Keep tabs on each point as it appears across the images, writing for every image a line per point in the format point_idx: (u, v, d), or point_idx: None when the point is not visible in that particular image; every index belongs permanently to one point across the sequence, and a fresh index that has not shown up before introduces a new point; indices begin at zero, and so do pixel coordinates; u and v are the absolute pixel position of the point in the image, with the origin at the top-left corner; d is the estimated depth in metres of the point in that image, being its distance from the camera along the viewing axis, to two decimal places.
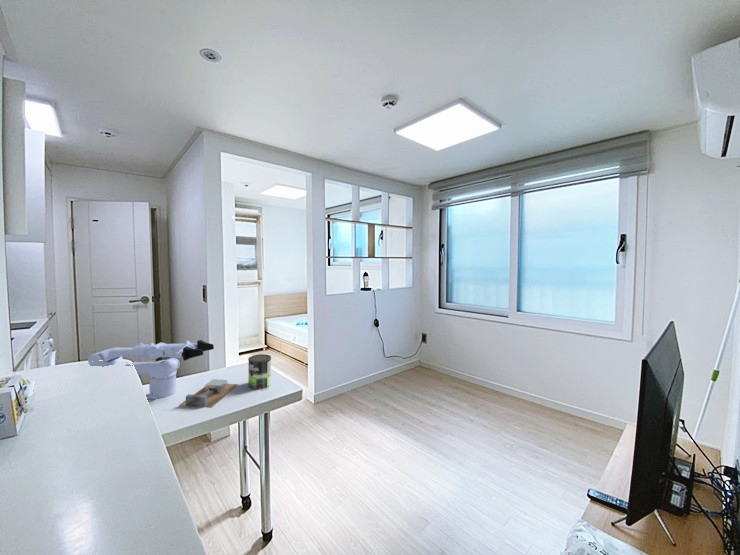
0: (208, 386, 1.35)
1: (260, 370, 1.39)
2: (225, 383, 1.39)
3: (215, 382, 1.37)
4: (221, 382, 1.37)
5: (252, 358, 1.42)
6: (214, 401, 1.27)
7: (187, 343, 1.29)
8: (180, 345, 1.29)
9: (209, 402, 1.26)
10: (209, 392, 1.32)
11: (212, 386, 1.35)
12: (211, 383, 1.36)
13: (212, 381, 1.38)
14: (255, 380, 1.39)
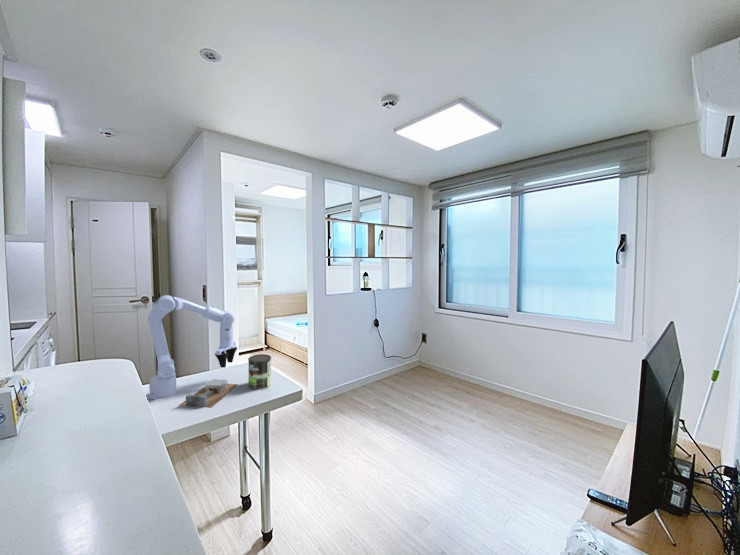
0: (208, 386, 1.35)
1: (260, 370, 1.39)
2: (225, 383, 1.39)
3: (215, 382, 1.37)
4: (221, 382, 1.37)
5: (252, 358, 1.42)
6: (214, 401, 1.27)
7: (231, 348, 1.44)
8: (229, 342, 1.43)
9: (209, 402, 1.26)
10: (209, 392, 1.32)
11: (212, 386, 1.35)
12: (211, 383, 1.36)
13: (212, 381, 1.38)
14: (255, 380, 1.39)
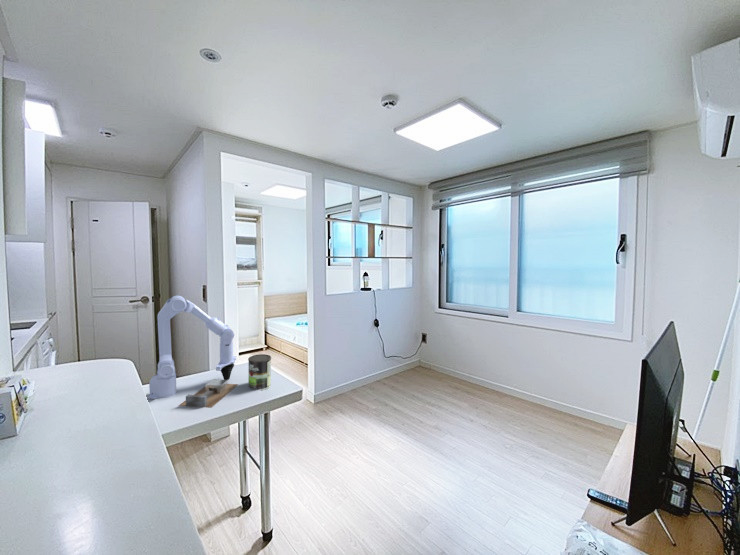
0: (208, 386, 1.35)
1: (260, 370, 1.39)
2: (225, 383, 1.39)
3: (215, 382, 1.37)
4: (221, 382, 1.37)
5: (252, 358, 1.42)
6: (214, 401, 1.27)
7: None
8: (230, 358, 1.44)
9: (209, 402, 1.26)
10: (209, 392, 1.32)
11: (212, 386, 1.35)
12: (211, 383, 1.36)
13: (212, 381, 1.38)
14: (255, 380, 1.39)
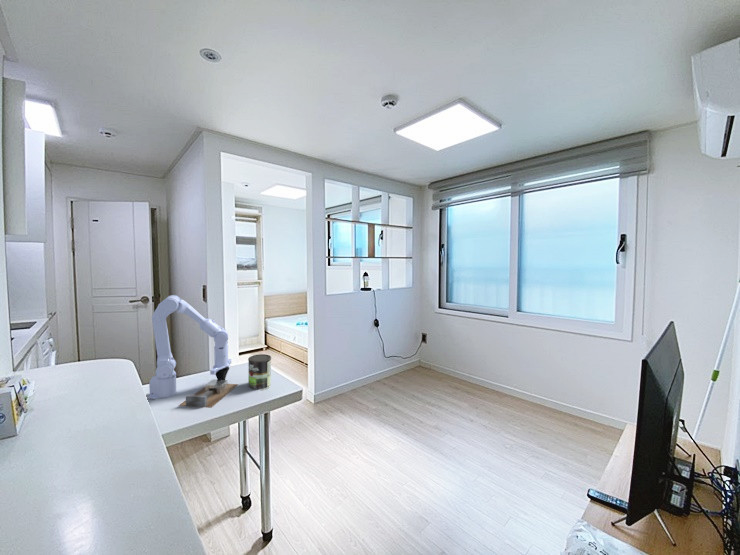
0: (208, 386, 1.34)
1: (260, 370, 1.39)
2: (225, 383, 1.38)
3: (215, 382, 1.37)
4: (221, 382, 1.37)
5: (252, 358, 1.42)
6: (214, 401, 1.27)
7: (227, 366, 1.40)
8: (224, 361, 1.39)
9: (209, 402, 1.26)
10: (209, 392, 1.32)
11: (212, 386, 1.34)
12: (211, 383, 1.36)
13: (212, 381, 1.38)
14: (255, 380, 1.39)
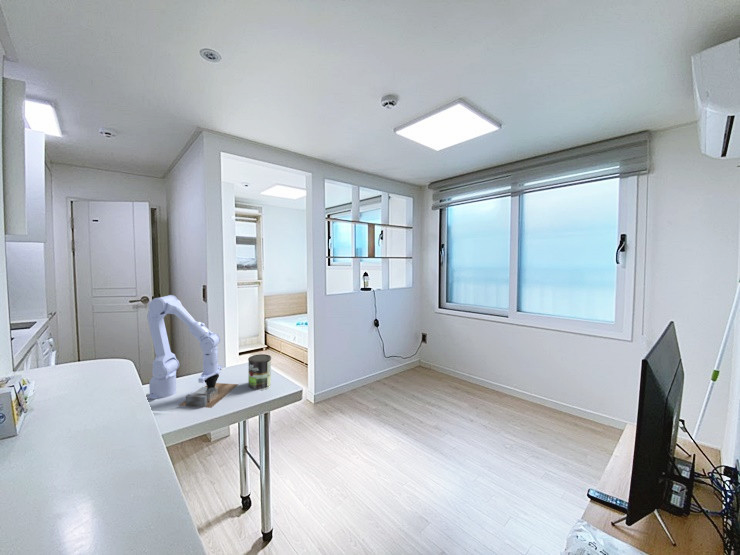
0: (197, 394, 1.27)
1: (260, 370, 1.39)
2: (215, 391, 1.30)
3: (204, 390, 1.29)
4: (211, 390, 1.29)
5: (252, 358, 1.42)
6: (214, 401, 1.27)
7: (216, 373, 1.32)
8: (214, 368, 1.31)
9: (209, 402, 1.26)
10: None
11: (201, 394, 1.26)
12: (200, 391, 1.28)
13: (201, 389, 1.30)
14: (255, 380, 1.39)
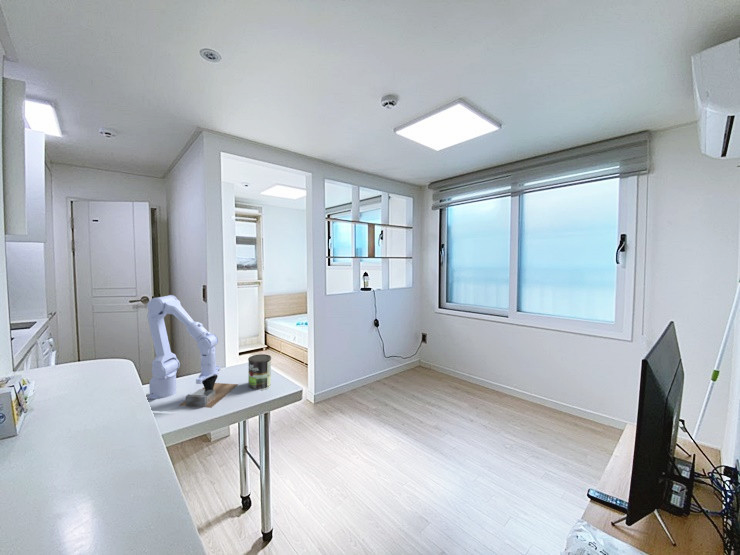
0: None
1: (260, 370, 1.39)
2: (212, 393, 1.28)
3: (201, 392, 1.27)
4: (208, 392, 1.27)
5: (252, 358, 1.42)
6: (214, 401, 1.27)
7: (214, 374, 1.30)
8: (212, 369, 1.29)
9: (209, 402, 1.26)
10: None
11: None
12: (197, 394, 1.26)
13: (198, 391, 1.28)
14: (255, 380, 1.39)
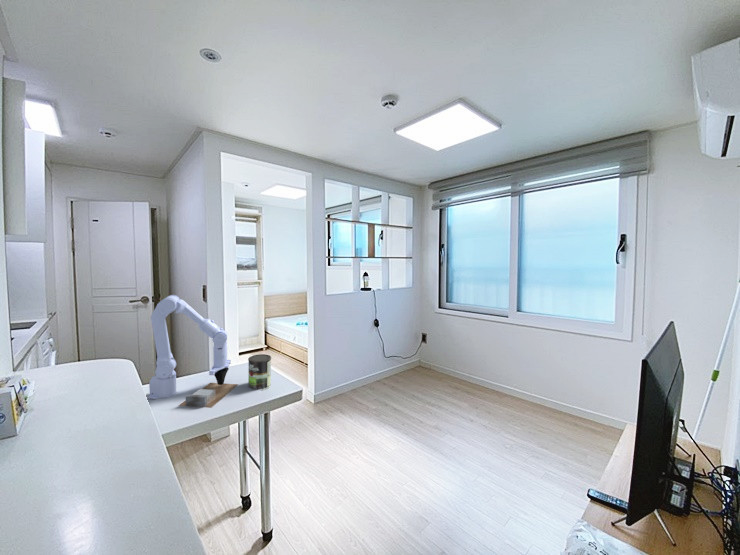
0: None
1: (260, 370, 1.39)
2: (212, 393, 1.28)
3: (201, 392, 1.27)
4: (208, 392, 1.27)
5: (252, 358, 1.42)
6: (214, 401, 1.27)
7: None
8: (224, 362, 1.39)
9: (209, 402, 1.26)
10: None
11: None
12: (197, 394, 1.26)
13: (198, 391, 1.28)
14: (255, 380, 1.39)
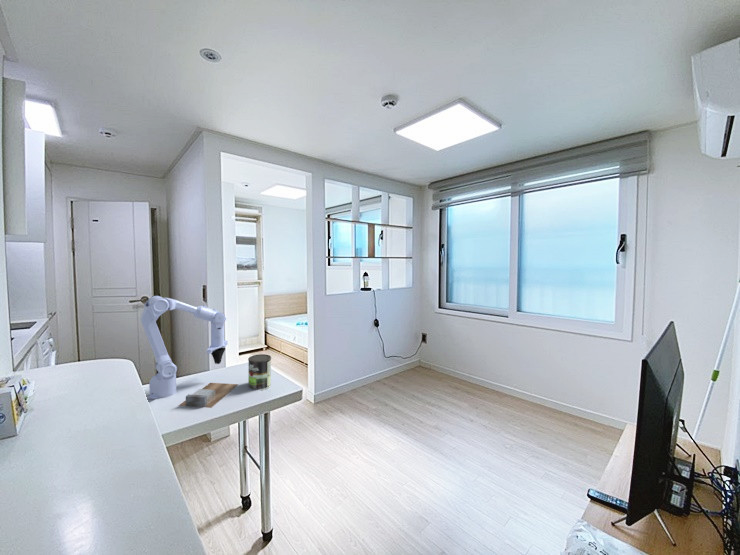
0: None
1: (260, 370, 1.39)
2: (212, 393, 1.28)
3: (201, 392, 1.27)
4: (208, 392, 1.27)
5: (252, 358, 1.42)
6: (214, 401, 1.27)
7: (223, 346, 1.45)
8: (221, 341, 1.45)
9: (209, 402, 1.26)
10: None
11: None
12: (197, 394, 1.26)
13: (198, 391, 1.28)
14: (255, 380, 1.39)
